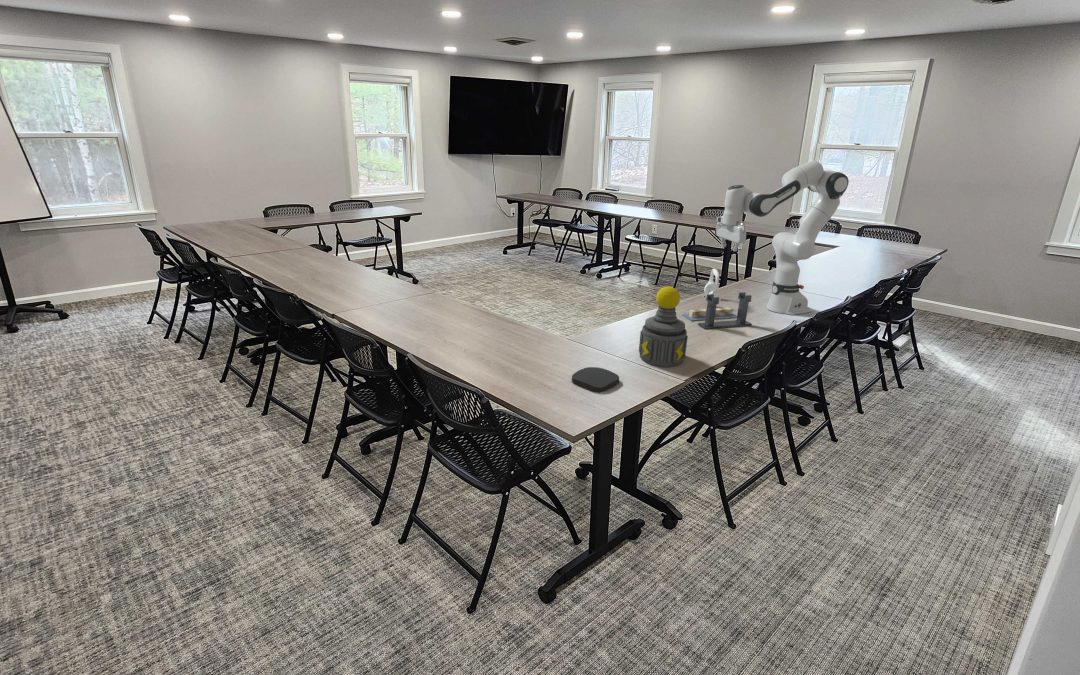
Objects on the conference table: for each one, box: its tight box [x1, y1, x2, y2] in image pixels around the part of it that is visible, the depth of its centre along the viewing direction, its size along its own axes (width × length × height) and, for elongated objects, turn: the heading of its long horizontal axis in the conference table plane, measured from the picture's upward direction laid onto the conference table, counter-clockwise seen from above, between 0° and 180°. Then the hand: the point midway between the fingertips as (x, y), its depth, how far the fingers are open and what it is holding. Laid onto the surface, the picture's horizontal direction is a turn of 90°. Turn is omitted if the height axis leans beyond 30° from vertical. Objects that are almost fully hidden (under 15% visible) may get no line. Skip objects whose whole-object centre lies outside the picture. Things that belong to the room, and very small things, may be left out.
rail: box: [688, 307, 733, 318], centre depth 278 cm, size 22×3×3 cm, turn 105°
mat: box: [681, 312, 737, 322], centre depth 279 cm, size 26×9×1 cm, turn 105°
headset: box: [701, 268, 722, 303], centre depth 298 cm, size 20×7×18 cm, turn 172°
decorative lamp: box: [638, 286, 689, 368], centre depth 223 cm, size 19×19×30 cm
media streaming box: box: [571, 366, 620, 393], centre depth 206 cm, size 15×15×3 cm
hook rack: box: [697, 291, 753, 330], centre depth 265 cm, size 25×6×15 cm, turn 105°
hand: (729, 248), depth 274 cm, fingers open, 8 cm apart
